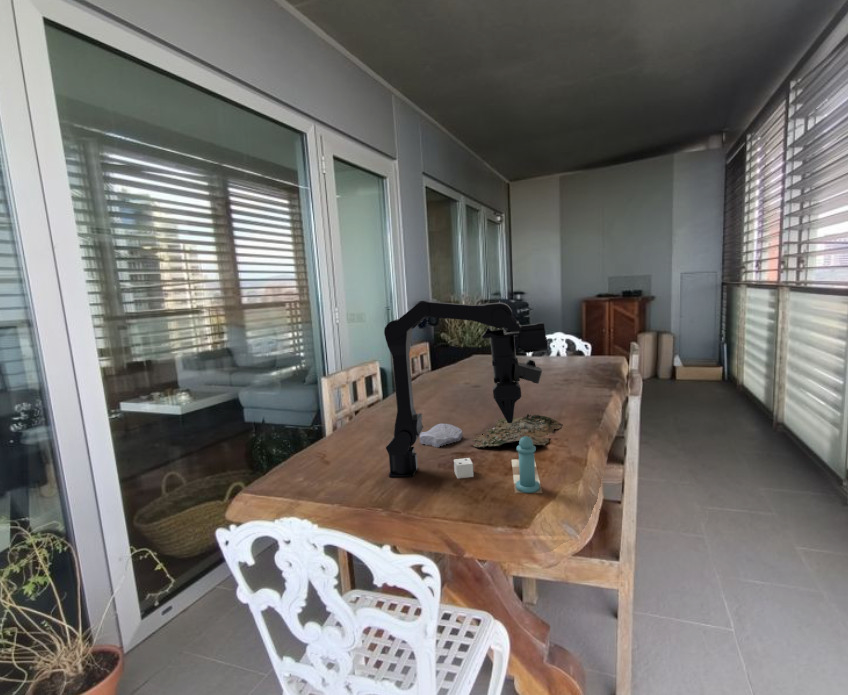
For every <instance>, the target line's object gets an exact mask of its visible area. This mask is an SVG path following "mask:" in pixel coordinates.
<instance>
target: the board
mask: <svg viewBox="0 0 848 695" xmlns="http://www.w3.org/2000/svg"><path fill="white" fill-rule="evenodd" d="M534 463H535V481H537V482H539V486H540V489H539V491H537V492H534V493H533V494H543V489H542V486H541V485H542V484H541V481H540V475H539V472H538V471H539V470H538V467H537V463H536V460H535V458H534ZM511 467H512V468H511V469H512V478H513V486H514V488H513V489H514V494H524V493H523V492H520V491H518V490H517V489H516V482H517V481H519V480H520V473H519V458H518V459H517V458H516V459H511Z"/></svg>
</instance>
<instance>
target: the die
mask: <svg viewBox="0 0 848 695" xmlns="http://www.w3.org/2000/svg"><path fill="white" fill-rule="evenodd" d="M453 468H454V474H455V476H456V478H457V479H466V478H474V464H473V461H472V460H471V458H470V457H465V458H457V459H456V458H454V459H453Z"/></svg>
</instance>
